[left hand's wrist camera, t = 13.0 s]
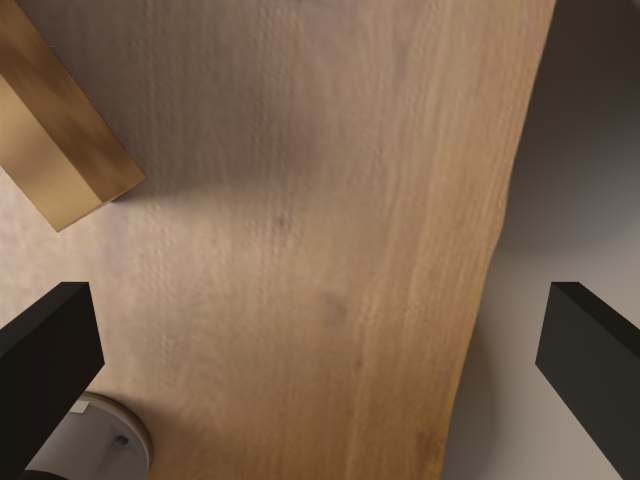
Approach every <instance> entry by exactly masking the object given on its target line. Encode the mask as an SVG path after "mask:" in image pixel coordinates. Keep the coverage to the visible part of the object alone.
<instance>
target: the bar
mask: <svg viewBox="0 0 640 480" xmlns="http://www.w3.org/2000/svg"><path fill="white" fill-rule="evenodd" d="M0 166H1V167H2V168H3V169H4V171H5V172H6V173H7V174H8V175H9V177H10V178H11V179H12V180H13V181H14V182H15V184H16V185H17V186H18V187H19V188H20V190H21V191H22V192H23V193H24V194H25V195H26V197H27V198H28V199H29V200H30V201H31V203H32V204H33V205H34V206H35V207H36V208H37V210H38V211H39V212H40V213H41V214H42V215H43V217H44V218H45V219H46V220H47V221H48V223H49V224H50V225H51V226H52V227H53V228H54V230H55V231H56V232H60V231H61V230H63V229H65V228H67V227H68V226H70V225H72V224H74V223H75V222H77V221H79V220H80V219H82V218H84V217H86V216H87V215H89V214H91V213H93V212H94V211H96V210H98V209H99V208H101V207H103V206H105V205H106V204H108V203H110V202H111V201H113V200H114V199H116V198H118V197H119V196H121V195H122V194H124V193H125V192H127V191H128V190H130V189H132V188H133V187H135V186H136V185H138V184H139V183H141V182H143V181H144V180H146V179H147V178H146V177H145V175H144V174H143V173H142V171H141V170H140V169H139V167H138V166H137V165H136V163H135V162H134V161H133V159H132V158H131V156H130V155H129V154H128V152H127V151H126V150H125V148H124V147H123V146H122V144H121V143H120V142H119V140H118V139H117V138H116V136H115V135H114V134H113V132H112V131H111V129H110V128H109V127H108V125H107V124H106V123H105V121H104V120H103V119H102V117H101V116H100V115H99V113H98V112H97V111H96V109H95V108H94V106H93V105H92V104H91V102H90V101H89V100H88V98H87V97H86V96H85V94H84V93H83V92H82V90H81V89H80V88H79V86H78V85H77V84H76V82H75V81H74V79H73V78H72V77H71V75H70V74H69V73H68V71H67V70H66V69H65V67H64V66H63V65H62V63H61V62H60V61H59V59H58V58H57V56H56V55H55V54H54V52H53V51H52V50H51V48H50V47H49V46H48V44H47V43H46V42H45V40H44V39H43V38H42V36H41V35H40V34H39V32H38V31H37V29H36V28H35V27H34V25H33V24H32V23H31V21H30V20H29V19H28V17H27V16H26V15H25V13H24V12H23V11H22V9H21V8H20V6H19V5H18V4H17V2H16V1H15V0H0Z"/></svg>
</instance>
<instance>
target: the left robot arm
mask: <svg viewBox="0 0 640 480" xmlns="http://www.w3.org/2000/svg"><path fill="white" fill-rule="evenodd" d="M104 364H105V362H104V357H103V352H102V347H101V342H100V337H99V332H98V327H97V322H96V317H95V312H94V307H93V302H92V297H91V292H90V287H89V282H61V283H59V284H58V285H57V286H56V287H54V288H53V289H52V290H50V291H49V292H48V293H47V294H45V295H44V296H43V297H41V298H40V299H39V300H38V301H36V302H35V303H34V304H32V305H31V306H30V307H29V308H27V309H26V310H25V311H23V312H22V313H21V314H20V315H18V316H17V317H16V318H15V319H13V320H12V321H11V322H9V323H8V324H7V325H6V326H4V327H3V328H2V329H0V480H145V478H146V475H147V473H148V471H149V468H150V466H151V463H152V458H153V448H152V443H151V439H150V437H149V434H148V433H147V431H146V429H145V427H144V426H143V424H142V423H141V422H140V421H139V420H138V419H137V418H136V417H135V416H134V415H133V414H132V413H131V412H130V411H129V410H127V409H126V408H124V407H123V406H121V405H120V404H118V403H116V402H114V401H112V400H110V399H107V398H105V397H102V396H99V395H95V394H91V393H85V392H84V391H85V389H86V388H87V387H88V385H89V384H90V383H91V381H92V380H93V379H94V378H95V376H96V375H97V374H98V372H99V371H100V370H101V368H102V367H103V366H104ZM535 364H536V366H537V367H538V368H539V370H540V371H541V372H542V374H543V375H544V376H545V377H546V379H547V380H548V381H549V383H550V384H551V385H552V387H553V388H554V389H555V391H556V392H557V393H558V395H559V396H560V397H561V399H562V400H563V401H564V403H565V404H566V405H567V406H568V408H569V409H570V410H571V412H572V413H573V414H574V416H575V417H576V418H577V420H578V421H579V422H580V424H581V425H582V426H583V428H584V429H585V430H586V432H587V433H588V434H589V435H590V437H591V438H592V439H593V441H594V442H595V443H596V445H597V446H598V447H599V449H600V450H601V451H602V453H603V454H604V455H605V457H606V458H607V459H608V460H609V462H610V463H611V464H612V466H613V467H614V468H615V470H616V471H617V472H618V474H619V475H620V476H621V478H622V479H623V480H640V329H638V328H637V327H636V326H634V325H633V324H632V323H631V322H629V321H628V320H627V319H625V318H624V317H623V316H622V315H620V314H619V313H618V312H616V311H615V310H614V309H613V308H611V307H610V306H609V305H607V304H606V303H605V302H604V301H602V300H601V299H600V298H598V297H597V296H596V295H595V294H593V293H592V292H591V291H589V290H588V289H587V288H586V287H584V286H583V285H582V284H581V283H579V282H551V287H550V292H549V297H548V302H547V307H546V312H545V317H544V322H543V327H542V332H541V337H540V342H539V347H538V352H537V357H536V362H535Z"/></svg>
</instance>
